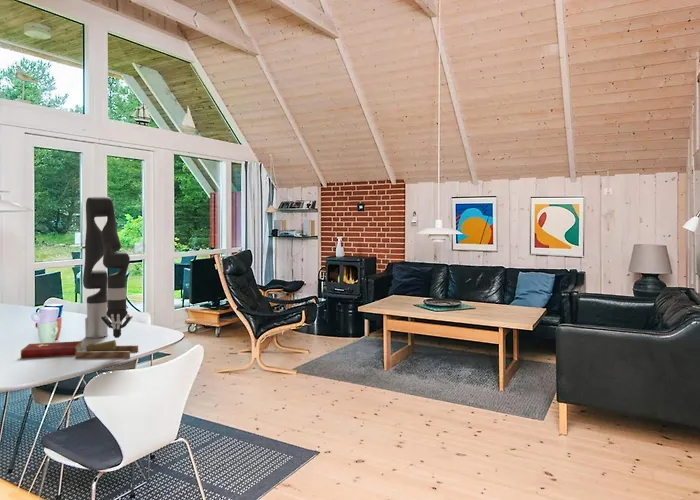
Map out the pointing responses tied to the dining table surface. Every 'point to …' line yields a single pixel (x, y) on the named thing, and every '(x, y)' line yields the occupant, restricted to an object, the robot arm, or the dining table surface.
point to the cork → (102, 346)
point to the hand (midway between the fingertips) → (117, 337)
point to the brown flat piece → (109, 352)
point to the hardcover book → (51, 349)
